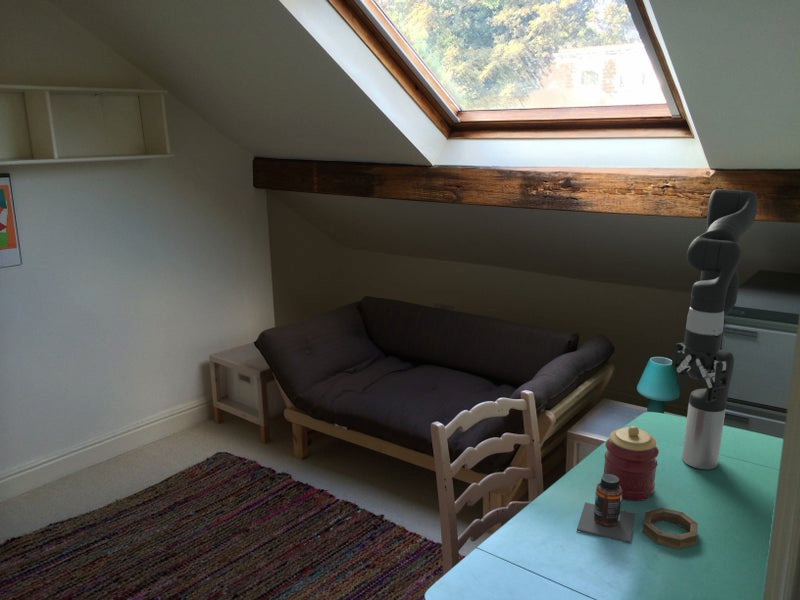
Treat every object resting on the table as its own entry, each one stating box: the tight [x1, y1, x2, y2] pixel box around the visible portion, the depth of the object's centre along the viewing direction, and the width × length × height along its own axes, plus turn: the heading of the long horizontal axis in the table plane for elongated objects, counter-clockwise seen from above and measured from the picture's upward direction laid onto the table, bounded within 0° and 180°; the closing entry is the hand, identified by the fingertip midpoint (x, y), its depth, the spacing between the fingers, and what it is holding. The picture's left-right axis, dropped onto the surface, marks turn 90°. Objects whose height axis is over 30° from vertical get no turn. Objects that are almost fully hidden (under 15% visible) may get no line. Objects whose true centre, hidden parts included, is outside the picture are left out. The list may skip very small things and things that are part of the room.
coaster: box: [576, 501, 636, 544], centre depth 165 cm, size 12×12×1 cm
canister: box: [602, 425, 660, 502], centre depth 178 cm, size 13×13×18 cm
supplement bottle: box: [594, 474, 623, 526], centre depth 164 cm, size 6×6×11 cm
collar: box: [642, 507, 699, 550], centre depth 162 cm, size 12×12×2 cm
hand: (695, 394), depth 159 cm, fingers open, 8 cm apart
